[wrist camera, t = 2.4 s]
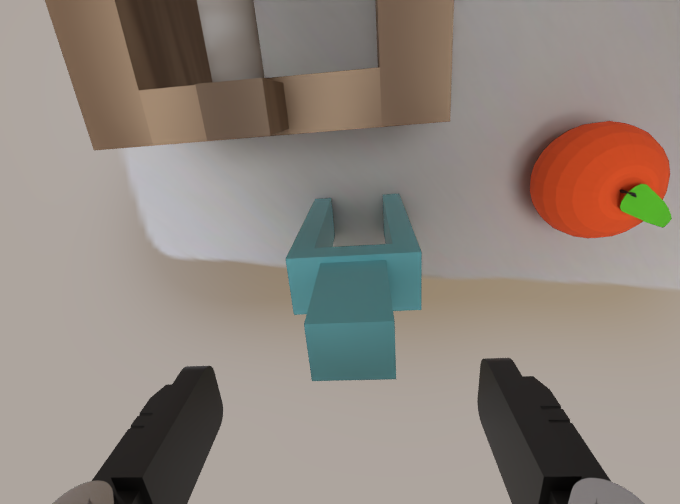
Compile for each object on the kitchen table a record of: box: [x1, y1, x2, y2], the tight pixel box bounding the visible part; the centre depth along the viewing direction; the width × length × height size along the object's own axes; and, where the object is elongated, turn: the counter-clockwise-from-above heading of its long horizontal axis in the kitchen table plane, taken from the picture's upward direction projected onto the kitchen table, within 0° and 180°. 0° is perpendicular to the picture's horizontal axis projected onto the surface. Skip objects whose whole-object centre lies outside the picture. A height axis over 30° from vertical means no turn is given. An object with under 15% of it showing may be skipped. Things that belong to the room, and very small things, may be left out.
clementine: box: [530, 121, 672, 238], centre depth 22 cm, size 8×7×7 cm
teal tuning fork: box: [286, 194, 422, 381], centre depth 20 cm, size 6×3×16 cm, turn 95°
